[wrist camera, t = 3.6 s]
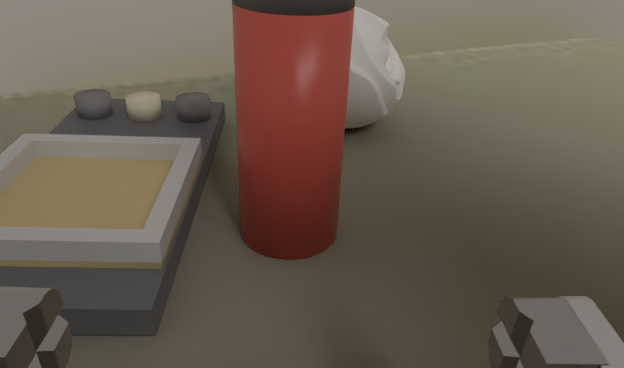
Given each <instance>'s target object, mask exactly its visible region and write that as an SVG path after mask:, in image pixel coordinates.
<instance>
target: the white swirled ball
mask: <svg viewBox="0 0 624 368" xmlns="http://www.w3.org/2000/svg"><path fill="white" fill-rule="evenodd" d="M388 27H389V24H388V23H387V22H385V21H384V20H383V19H381V18H380V17H377V16H376V15H374V14H372V13H371V12H368V11H366V10H364V9H361V8H359V7H356V6H355V9H354V22H353V34H352V47H351V59H350V72H349V84H348V96H347V109H346V121H345V128H358V127H362V126H366V125H369V124H371V123H374V122H376V121H378V120H380V119H382V118H383V117H385V116H387V114H388V113H389V111H390V109H391V108H392V107H393V106H394V105H395V104H396V103H397V102H398V101H399V99H400V98H401V95H402V90H403V84H404V78H405V69H404V67H403V64H402V62H401V60H400V57H399V55H398V53H397V52H396V50H395V48H394V46H393V45H392V43H391V42H390V40H389V39H388V36H387V33H386V32H387V30H388Z"/></svg>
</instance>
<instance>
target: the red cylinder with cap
mask: <svg viewBox="0 0 624 368" xmlns="http://www.w3.org/2000/svg"><path fill="white" fill-rule="evenodd" d="M354 9H355V0H232V10H233V11H232V12H233V35H234V36H233V37H234V64H235V92H236V118H237V145H238V171H239V198H240V225H241V236H242V238H243V240H244V242H245V243H246V244H247V245H248V246H249V247H250V248H251V249H253V250H254V251H256V252H258V253H260V254H262V255H265V256H268V257H272V258H278V259H302V258H307V257H310V256H314V255H316V254H319V253H321V252H322V251H324V250H326V249H327V248H328V247H329V246H330V245H331V244H332V243H333V242H334V240H335V238H336V233H337V221H338V208H339V196H340V183H341V171H342V159H343V146H344V134H345V121H346V109H347V96H348V84H349V72H350V59H351V47H352V34H353V22H354Z"/></svg>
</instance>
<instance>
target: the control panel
mask: <svg viewBox="0 0 624 368" xmlns="http://www.w3.org/2000/svg"><path fill="white" fill-rule="evenodd" d="M74 100H75V105H76V108H75V109H74V110H73V111H72V112H71V113H70V114H69V115H68V116H67V117H66V118H65V119H64V120H63V121H62V122H61V123H60V124H59V125H58V126H57V127H55V128H54V129H53V130H52V131H51V132H50V133H49V134H32V133H24V134H22V135H21V136H20V137H19V138H18V139H17V140H16V141H15V142H13V143H12V144H11V145H10V146H9V147H8V148H7V149H5V150H4V151H3V152H2V153H1V154H0V286H6V287H30V288H53V289H55V290H58V291H59V292H60V295H61V298H62V301H63V304H64V305H63V307H62V309H61V310H60V312H59V315H60V316H61V317H62V318H63V319H65V320H66V321H67V322H68V323H69V326H70V330H71V335H148V336H156V332H157V329H158V326H159V323H160V320H161V317H162V314H163V311H164V308H165V304H166V301H167V298H168V295H169V292H170V289H171V286H172V283H173V280H174V276H175V273H176V270H177V267H178V264H179V261H180V258H181V255H182V252H183V248H184V245H185V242H186V239H187V236H188V233H189V230H190V227H191V224H192V220H193V217H194V214H195V211H196V208H197V205H198V202H199V199H200V195H201V192H202V189H203V186H204V183H205V180H206V177H207V174H208V171H209V167H210V164H211V161H212V158H213V155H214V152H215V149H216V146H217V143H218V139H219V136H220V133H221V130H222V127H223V124H224V121H225V111H224V103H223V102H210V97H209V96H208V95H207V94H204V93H198V92H190V93H184V94H181V95H179V96H177V97H176V101H160V95H159V94H158V93H157V92H153V91H137V92H133V93H130V94H128V95H126V96H125V100H124V99H111V98H110V93H109V92H108V91H106V90H101V89H91V90H84V91H81V92H78V93H76V94H75V95H74Z"/></svg>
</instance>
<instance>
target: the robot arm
mask: <svg viewBox="0 0 624 368" xmlns="http://www.w3.org/2000/svg"><path fill="white" fill-rule="evenodd" d="M63 305H64V304H63V301H62V298H61V295H60V292H59V291H58V290H55V289H53V288H30V287H6V286H0V368H65V367H66V365H67V363H68V360H69V355H70V351H71V346H72V340H71V330H70V326H69V323H68V322H67V321H66V320H65V319H63V318H62V317H61V316H60V315H59V312H60V310H61V309H62V307H63ZM497 312H498V314H499V316H500V318H501V320H502V321H501V322H500V323H499V324H497V325H496V326H495V327H494V328H492V331H491V335H490V339H489V360H490V364H491V368H624V343H623V341H622V340H621V338H620V337H619V336H618V334H617V333H616V332H615V330H614V329H613V327H612V326H611V325H610V323H609V322H608V321H607V319H606V318H605V316H604V315H603V314H602V312H601V311H600V310H599V308H598V307H597V305H596V304H595V303H594V301H593V300H591V299H590V298H588V297H587V296H558V297H556V296H505V297H504V298H503V299H502V300H501V302H500V305H499V308H498V311H497Z"/></svg>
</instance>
